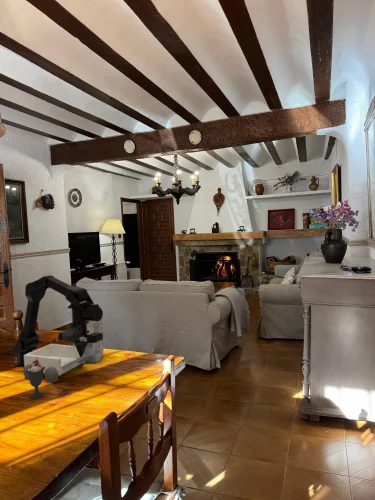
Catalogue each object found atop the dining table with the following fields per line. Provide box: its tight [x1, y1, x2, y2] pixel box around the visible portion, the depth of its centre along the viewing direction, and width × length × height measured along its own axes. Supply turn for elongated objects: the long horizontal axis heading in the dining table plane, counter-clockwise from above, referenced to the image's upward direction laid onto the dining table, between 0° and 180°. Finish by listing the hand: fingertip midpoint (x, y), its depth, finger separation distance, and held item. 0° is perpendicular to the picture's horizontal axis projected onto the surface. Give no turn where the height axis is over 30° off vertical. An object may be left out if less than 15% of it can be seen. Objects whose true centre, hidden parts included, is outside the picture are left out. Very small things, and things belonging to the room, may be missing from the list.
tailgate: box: [61, 350, 96, 370], centre depth 149 cm, size 2×13×8 cm
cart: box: [23, 343, 86, 384], centre depth 154 cm, size 18×18×10 cm
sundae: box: [26, 357, 45, 400], centre depth 132 cm, size 7×7×15 cm
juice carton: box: [83, 303, 104, 364], centre depth 168 cm, size 9×10×27 cm
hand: (81, 356), depth 148 cm, fingers closed, pressing on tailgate
